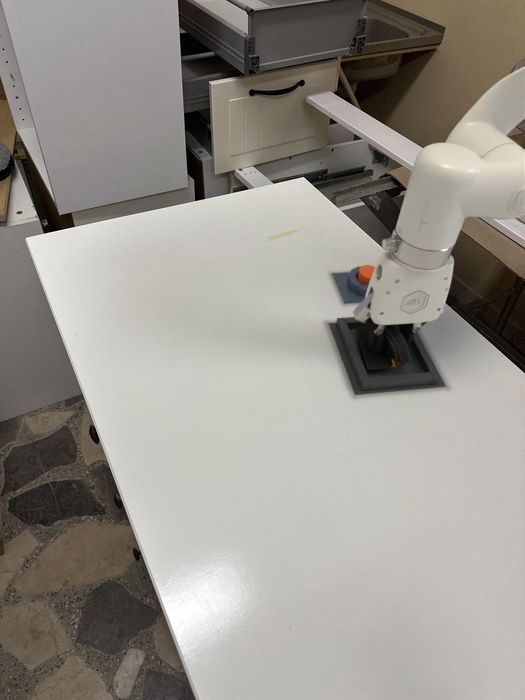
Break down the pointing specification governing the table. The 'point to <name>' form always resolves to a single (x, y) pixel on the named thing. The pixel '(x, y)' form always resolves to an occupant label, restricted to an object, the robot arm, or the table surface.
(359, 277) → the power button
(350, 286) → the button base
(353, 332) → the dock
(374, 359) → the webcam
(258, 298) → the table surface
